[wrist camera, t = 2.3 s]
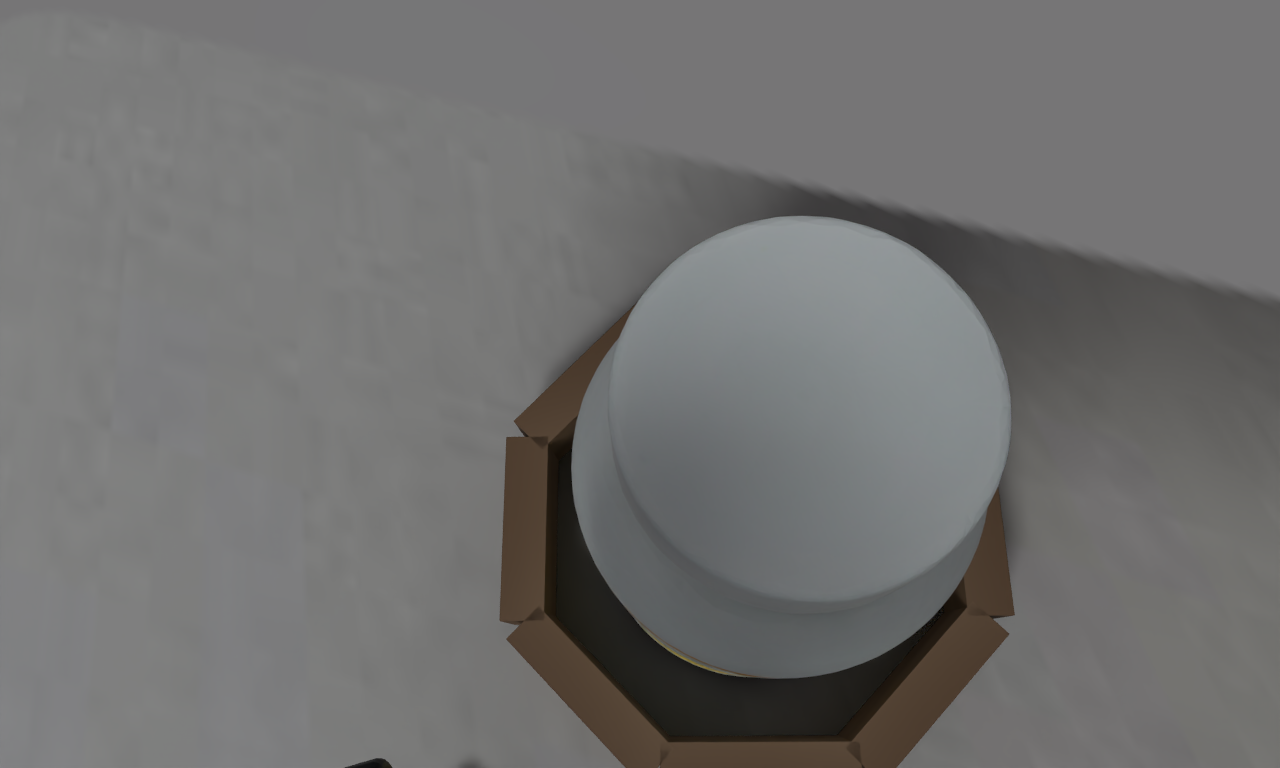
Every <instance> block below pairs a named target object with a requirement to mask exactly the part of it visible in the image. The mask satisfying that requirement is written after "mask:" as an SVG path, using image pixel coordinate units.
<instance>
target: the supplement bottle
mask: <svg viewBox="0 0 1280 768" xmlns="http://www.w3.org/2000/svg"><path fill="white" fill-rule="evenodd" d="M1011 422H1012V418H1011V398H1010V390H1009V384H1008V377H1007V373H1006V370H1005V367H1004V364H1003V360H1002V357H1001V354H1000V351H999V348H998V345H997V343H996V341H995V339H994V337H993V335H992V333H991V331H990V329H989V326H988V325H987V323H986V321H985V320H984V318H983V317H982V315H981V313H980V312H979V310H978V309H977V307H976V306H975V304H974V303H973V301H972V300H971V298H970V297H969V296H968V295H967V294H966V293H965V291H964V290H963V289H962V288H961V287H960V286H959V285H958V284H957V283H956V282H955V281H954V280H953V279H952V278H951V277H950V276H949V275H948V274H947V273H946V272H945V271H944V270H943V269H942V268H941V267H939V266H938V265H937V264H936V263H935V262H934V261H932V260H931V259H930V258H928V257H927V256H926V255H924V254H923V253H922V252H920V251H919V250H917V249H916V248H914V247H912V246H911V245H909V244H907V243H906V242H903V241H901V240H899V239H897V238H895V237H893V236H891V235H889V234H887V233H885V232H883V231H880V230H877V229H874V228H871V227H868V226H866V225H862V224H858V223H854V222H850V221H847V220H843V219H837V218H831V217H820V216H785V217H774V218H769V219H764V220H758V221H753V222H749V223H746V224H742V225H739V226H736V227H733V228H731V229H728V230H726V231H723V232H721V233H718V234H716V235H714V236H712V237H710V238H708V239H706V240H704V241H703V242H701V243H699V244H697V245H696V246H694V247H693V248H691V249H690V250H688V251H687V252H686V253H684V254H683V255H681V256H680V257H679V258H677V259H676V260H675V261H673V262H672V263H671V264H670V265H669V266H668V267H667V268H666V269H665V270H664V271H663V272H662V273H661V274H660V275H659V276H658V277H657V278H656V279H655V280H654V281H653V282H652V283H651V285H650V286H649V287H648V288H647V290H646V291H645V292H644V294H643V295H642V297H641V298H640V299H639V301H638V302H637V304H636V305H635V307H634V309H633V310H632V312H631V313H630V315H629V317H628V319H627V321H626V324H625V326H624V328H623V330H622V332H621V334H620V337H619V338H618V340H617V341H616V342H615V343H614V345H613V346H612V347H611V348H610V350H609V351H608V352H607V354H606V355H605V357H604V358H603V360H602V362H601V363H600V365H599V366H598V368H597V370H596V372H595V374H594V376H593V378H592V380H591V382H590V384H589V386H588V388H587V391H586V393H585V395H584V398H583V401H582V404H581V408H580V411H579V414H578V418H577V421H576V427H575V432H574V439H573V445H572V464H571V473H572V488H573V497H574V504H575V508H576V512H577V516H578V520H579V524H580V528H581V531H582V533H583V536H584V539H585V542H586V545H587V547H588V549H589V551H590V554H591V556H592V558H593V560H594V563H595V564H596V566H597V568H598V569H599V571H600V573H601V575H602V576H603V578H604V579H605V581H606V583H607V584H608V586H609V588H610V589H611V591H612V592H613V593H614V594H615V596H616V597H617V598H618V599H619V601H620V602H621V603H622V604H623V606H624V607H625V608H626V609H627V611H628V612H629V613H630V614H631V615H632V616H633V618H634V619H635V620H636V621H637V623H638V624H639V625H640V626H641V627H642V628H643V629H644V630H645V631H646V632H647V633H648V634H649V635H650V636H651V637H652V638H653V639H654V640H655V641H656V642H657V643H659V644H660V645H661V646H663V647H664V648H665V649H667V650H668V651H670V652H671V653H673V654H674V655H676V656H678V657H680V658H681V659H684V660H686V661H688V662H690V663H692V664H693V665H696V666H699V667H701V668H704V669H707V670H710V671H713V672H716V673H721V674H725V675H733V676H741V677H757V678H770V679H781V678H802V677H811V676H819V675H824V674H829V673H834V672H838V671H841V670H845V669H848V668H851V667H854V666H856V665H859V664H862V663H865V662H867V661H869V660H872V659H874V658H876V657H878V656H880V655H882V654H884V653H885V652H887V651H889V650H891V649H892V648H894V647H896V646H897V645H899V644H900V643H902V642H903V641H905V640H906V639H908V638H909V637H911V636H912V635H913V634H914V633H915V632H917V631H918V630H919V629H920V628H921V627H922V626H923V625H925V624H926V623H927V622H928V621H929V620H930V619H931V618H932V617H933V616H934V615H935V614H936V613H937V612H938V610H939V609H940V608H941V607H942V606H943V605H944V604H945V602H946V601H947V600H948V599H949V597H950V596H951V595H952V593H953V592H954V591H955V589H956V588H957V586H958V585H959V583H960V581H961V580H962V578H963V576H964V574H965V573H966V571H967V569H968V567H969V565H970V563H971V561H972V559H973V556H974V554H975V552H976V549H977V547H978V545H979V541H980V538H981V534H982V531H983V527H984V524H985V519H986V514H987V508H988V506H989V504H990V502H991V500H992V498H993V496H994V494H995V492H996V489H997V487H998V485H999V482H1000V479H1001V476H1002V473H1003V470H1004V467H1005V464H1006V461H1007V457H1008V452H1009V447H1010V439H1011Z"/></svg>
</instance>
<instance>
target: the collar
mask: <svg viewBox="0 0 1280 768" xmlns="http://www.w3.org/2000/svg"><path fill="white" fill-rule="evenodd" d="M636 304H637V303H636ZM636 304H635V305H636ZM635 305H634V306H633V307H632V308H631V309H630V310H629V311H628V312H627V313H626V314H625V315H624V316H623V317H621V318H620V319H619V320H618V321H617V322H616V323H615V324H614V325H613V326H612V327H611V328H610V329H609V330H608V331H607V332H606V333H605V334H604V335H603V336H602V337H601V338H600V339H599V340H598V341H597V342H595V343H594V344H593V345H592V346H591V347H590V348H589V349H588V350H587V351H586V352H585V353H584V354H583V355H582V356H581V357H580V358H579V359H578V360H577V361H576V362H575V363H574V364H573V365H572V366H571V367H570V368H568V369H567V370H566V371H565V372H564V373H563V374H562V375H561V376H560V377H559V378H558V379H557V380H556V381H555V382H554V383H553V384H552V385H551V386H550V387H549V388H548V389H547V390H546V391H545V392H544V393H542V394H541V395H540V396H539V397H538V398H537V399H536V400H535V401H534V402H533V403H532V404H531V405H530V406H529V407H528V408H527V409H526V410H525V411H524V412H523V413H522V414H521V415H520V416H519V417H518V418H517V419H515V420H514V422H515V424H516V425H517V426H518V428H519V429H520V431H521V432H522V433H523V435H524V436H525V437H506V463H505V490H504V517H503V544H502V571H501V598H500V621H502V622H506V623H510V624H514V625H519V627H518V628H517V629H516V630H515V631H514V632H513V633H512V634H511V635H510V636H509V637H508V638H507V641H508V642H509V643H510V644H511V645H512V646H513V647H514V648H515V649H516V650H517V651H518V652H519V653H520V655H521V656H522V657H523V658H524V659H525V660H526V661H527V662H528V663H529V664H530V665H531V666H532V667H533V669H534V670H535V671H536V672H537V673H538V674H539V675H540V676H541V677H542V678H543V679H544V680H545V681H546V683H547V684H548V685H549V686H550V687H551V688H552V689H553V690H554V691H555V692H556V693H557V694H558V695H559V697H560V698H561V699H562V700H563V701H564V702H565V703H566V704H567V705H568V706H569V707H570V708H571V709H572V711H573V712H574V713H575V714H576V715H577V716H578V717H579V718H580V719H581V720H582V721H583V722H584V723H585V725H586V726H587V727H588V728H589V729H590V730H591V731H592V732H593V733H594V734H595V735H596V736H597V737H598V739H599V740H600V741H601V742H602V743H603V744H604V745H605V746H606V747H607V748H608V749H609V750H610V751H611V752H612V754H613V755H614V756H615V757H616V758H617V759H618V760H619V761H620V762H621V763H622V764H623V765H624V766H625V768H658V767H659V765H660V768H896V767H897V766H898V765H899V764H900V763H901V762H902V760H903V759H904V758H905V757H906V756H907V754H908V753H909V752H910V751H911V750H912V749H913V747H914V746H915V745H916V744H917V743H918V741H919V740H920V739H921V738H922V737H923V736H924V734H925V733H926V732H927V731H928V730H929V728H930V727H931V726H932V725H933V724H934V723H935V721H936V720H937V719H938V718H939V717H940V715H941V714H942V713H943V712H944V711H945V710H946V708H947V707H948V706H949V705H950V704H951V702H952V701H953V700H954V699H955V698H956V697H957V695H958V694H959V693H960V692H961V691H962V689H963V688H964V687H965V686H966V685H967V684H968V682H969V681H970V680H971V679H972V678H973V676H974V675H975V674H976V673H977V672H978V671H979V669H980V668H981V667H982V666H983V665H984V663H985V662H986V661H987V660H988V659H989V658H990V656H991V655H992V654H993V653H994V652H995V650H996V649H997V648H998V647H999V646H1000V645H1001V643H1002V642H1003V641H1004V640H1005V639H1006V637H1007V636H1008V635H1009V633H1008V632H1007V631H1006V630H1004V629H1003V628H1002V627H1001V626H1000V625H999V624H998V623H997V622H996V621H994V620H993V619H994V618H1000V617H1007V616H1013V615H1015V614H1014V606H1013V599H1012V591H1011V583H1010V575H1009V568H1008V560H1007V552H1006V544H1005V536H1004V529H1003V521H1002V513H1001V505H1000V498H999V490H998V487H997V489H996V492H995V494H994V496H993V498H992V500H991V502H990V504H989V506H988V508H987V514H986V519H985V524H984V527H983V531H982V534H981V538H980V541H979V545H978V547H977V549H976V552H975V554H974V556H973V559H972V561H971V563H970V565H969V567H968V569H967V571H966V573H965V574H964V576H963V578H962V580H961V581H960V583H959V585H958V586H957V588H956V589H955V591H954V592H953V593H952V595H951V596H950V597H949V599H948V600H947V601H946V602H945V604H944V613H943V614H942V615H941V616H940V618H939V619H938V620H937V621H936V622H935V623H934V625H933V626H932V627H931V628H930V629H929V630H928V631H927V633H926V634H925V635H924V636H923V637H922V638H921V639H920V641H919V642H918V643H917V644H916V645H915V646H914V648H913V649H912V650H911V651H910V652H909V653H908V654H907V656H906V657H905V658H904V659H903V660H902V661H901V662H900V664H899V665H898V666H897V667H896V668H895V669H894V671H893V672H892V673H891V674H890V675H889V676H888V677H887V679H886V680H885V681H884V682H883V683H882V684H881V686H880V687H879V688H878V689H877V690H876V691H875V692H874V694H873V695H872V696H871V697H870V698H869V699H868V700H867V702H866V703H865V704H864V705H863V706H862V707H861V709H860V710H859V711H858V712H857V713H856V714H855V715H854V717H853V718H852V719H851V720H850V721H849V722H848V723H847V725H846V726H845V727H844V728H843V729H842V730H841V732H840V733H839V734H838V735H786V736H669V735H668V734H667V733H666V731H665V730H664V729H663V728H662V727H661V726H660V725H659V724H658V723H657V722H656V721H655V720H654V719H653V718H652V717H651V716H650V715H649V714H648V713H647V712H646V711H645V709H644V708H643V707H642V706H641V705H640V704H639V703H638V702H637V701H636V700H635V699H634V698H633V697H632V696H631V695H630V694H629V693H628V692H627V691H626V690H625V689H624V688H623V686H622V685H621V684H620V683H619V682H618V681H617V680H616V679H615V678H614V677H613V676H612V675H611V674H610V673H609V672H608V671H607V670H606V669H605V668H604V667H603V666H602V664H601V663H600V662H599V661H598V660H597V659H596V658H595V657H594V656H593V655H592V654H591V653H590V652H589V651H588V650H587V649H586V648H585V647H584V646H583V645H582V644H581V643H580V641H579V640H578V639H577V638H576V637H575V636H574V635H573V634H572V633H571V632H570V631H569V630H568V629H567V628H566V627H565V626H564V625H563V624H562V623H561V622H560V621H559V619H558V618H557V617H556V575H557V523H558V471H559V460H560V459H561V458H562V457H563V456H564V455H565V454H566V453H567V452H568V451H569V450H570V449H571V448H572V445H573V439H574V432H575V427H576V421H577V418H578V414H579V411H580V408H581V404H582V401H583V398H584V395H585V393H586V391H587V388H588V386H589V384H590V382H591V380H592V378H593V376H594V374H595V372H596V370H597V368H598V366H599V365H600V363H601V362H602V360H603V358H604V357H605V355H606V354H607V352H608V351H609V350H610V348H611V347H612V346H613V345H614V343H615V342H616V341H617V340H618V338H619V337H620V334H621V332H622V330H623V328H624V326H625V324H626V321H627V319H628V317H629V315H630V313H631V312H632V310H633V309H634V307H635Z"/></svg>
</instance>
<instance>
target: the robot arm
mask: <svg viewBox="0 0 1280 768" xmlns="http://www.w3.org/2000/svg"><path fill="white" fill-rule="evenodd" d="M345 768H392V766H391V765H390V764H389V762H387V761H386V760H385V759H382V758H376V759H372V760H369V761H366V762H362V763H359V764H355V765H352V766H349V767H345Z"/></svg>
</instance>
